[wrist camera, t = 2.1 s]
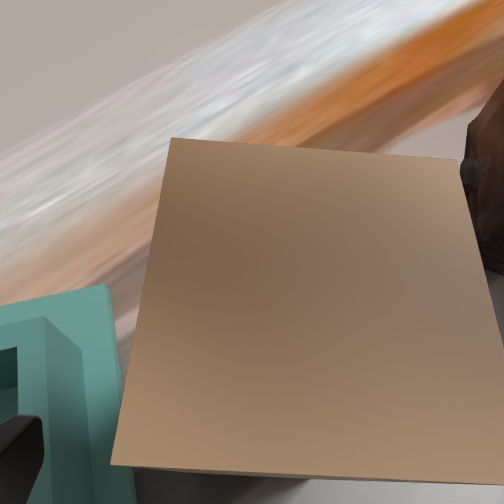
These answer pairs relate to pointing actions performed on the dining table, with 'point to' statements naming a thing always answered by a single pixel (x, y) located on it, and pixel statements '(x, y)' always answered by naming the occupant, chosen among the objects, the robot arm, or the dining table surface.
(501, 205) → the dark brown wooden block
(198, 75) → the dining table surface
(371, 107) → the dining table surface
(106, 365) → the well
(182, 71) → the dining table surface
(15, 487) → the robot arm
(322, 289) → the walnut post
